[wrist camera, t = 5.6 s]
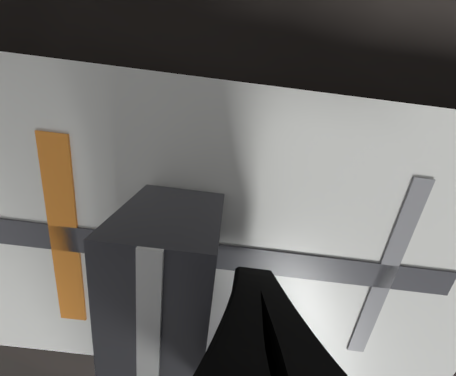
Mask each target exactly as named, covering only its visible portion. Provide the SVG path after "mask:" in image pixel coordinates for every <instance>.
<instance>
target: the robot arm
mask: <svg viewBox="0 0 456 376" xmlns="http://www.w3.org/2000/svg"><path fill="white" fill-rule="evenodd" d="M193 376H348V375H347V374H346V373H345V372H344V371H343V369H342V368H341V367H340V366H339V365H338V364H337V362H336V361H335V360H334V359H333V357H332V356H331V355H330V354H329V353H328V351H327V350H326V349H325V347H324V346H323V345H322V344H321V342H320V341H319V340H318V338H317V337H316V336H315V335H314V333H313V332H312V331H311V329H310V328H309V326H308V325H307V324H306V322H305V321H304V319H303V318H302V317H301V315H300V314H299V312H298V311H297V310H296V308H295V307H294V305H293V304H292V302H291V301H290V299H289V298H288V296H287V295H286V293H285V292H284V290H283V288H282V287H281V285H280V284H279V282H278V281H277V279H276V277H275V276H274V274H273V273H272V271H271V270H264V269H256V268H248V267H237V268H236V269H235V273H234V280H233V286H232V292H231V295H230V298H229V301H228V304H227V306H226V309H225V312H224V314H223V317H222V319H221V321H220V323H219V325H218V328H217V330H216V332H215V334H214V337H213V339H212V341H211V343H210V345H209V347H208V349H207V351H206V353H205V354H204V356H203V358H202V360H201V362H200V364H199V366H198V367H197V369H196V371H195V373H194V374H193Z"/></svg>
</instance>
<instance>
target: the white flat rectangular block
mask: <svg viewBox="0 0 456 376" xmlns="http://www.w3.org/2000/svg"><path fill="white" fill-rule="evenodd" d="M145 185H155V186H163V187H172V188H180V189H188V190H196V191H205V192H213V193H221V194H225V195H224V204H223V213H222V222H221V230H220V239H219V248H218V257H217V265H216V273H215V281H214V289H213V297H212V305H211V313H210V322H209V330H208V338H207V346H206V351H207V349H208V347H209V345H210V343H211V341H212V339H213V337H214V334H215V332H216V330H217V328H218V325H219V323H220V321H221V319H222V317H223V314H224V312H225V309H226V306H227V304H228V301H229V298H230V295H231V292H232V286H233V280H234V273H235V269H236V268H237V267H248V268H256V269H264V270H271V271H272V273H273V274H274V276H275V277H276V279H277V281H278V282H279V284H280V285H281V287H282V288H283V290H284V292H285V293H286V295H287V296H288V298H289V299H290V301H291V302H292V304H293V305H294V307H295V308H296V310H297V311H298V312H299V314H300V315H301V317H302V318H303V319H304V321H305V322H306V324H307V325H308V326H309V328H310V329H311V331H312V332H313V333H314V335H315V336H316V337H317V338H318V340H319V341H320V342H321V344H322V345H323V346H324V347H325V349H326V350H327V351H328V353H329V354H330V355H331V356H332V357H333V359H334V360H335V361H336V362H337V364H338V365H339V366H340V367H341V368H342V369H343V371H344V372H345V373H346V374H347V375H348V376H453V375H454V373H455V372H456V109H449V108H441V107H434V106H426V105H418V104H410V103H402V102H394V101H387V100H379V99H371V98H363V97H355V96H347V95H339V94H332V93H324V92H316V91H308V90H300V89H292V88H285V87H277V86H269V85H261V84H253V83H245V82H238V81H230V80H222V79H214V78H206V77H198V76H191V75H183V74H175V73H167V72H159V71H151V70H143V69H136V68H128V67H120V66H112V65H104V64H96V63H89V62H81V61H73V60H65V59H57V58H49V57H42V56H34V55H26V54H18V53H10V52H2V51H0V345H5V346H14V347H23V348H32V349H41V350H50V351H59V352H68V353H77V354H86V355H94V354H93V343H92V331H91V320H90V309H89V298H88V286H87V275H86V264H85V253H84V242H83V240H84V239H85V238H86V237H87V236H88V235H89V234H90V233H92V232H93V231H94V230H95V229H96V228H97V227H98V226H100V225H101V224H102V223H103V222H104V221H105V220H106V219H108V218H109V217H110V216H111V215H112V214H113V213H115V212H116V211H117V210H118V209H119V208H120V207H121V206H123V205H124V204H125V203H126V202H127V201H128V200H129V199H131V198H132V197H133V196H134V195H135V194H136V193H137V192H139V191H140V190H141V189H142V188H143V187H144V186H145Z"/></svg>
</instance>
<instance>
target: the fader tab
mask: <svg viewBox="0 0 456 376" xmlns="http://www.w3.org/2000/svg"><path fill="white" fill-rule="evenodd" d="M224 195H225V194H221V193H213V192H205V191H196V190H188V189H180V188H172V187H163V186H155V185H145V186H144V187H143V188H142V189H141V190H140V191H139V192H137V193H136V194H135V195H134V196H133V197H132V198H131V199H129V200H128V201H127V202H126V203H125V204H124V205H123V206H121V207H120V208H119V209H118V210H117V211H116V212H115V213H113V214H112V215H111V216H110V217H109V218H108V219H106V220H105V221H104V222H103V223H102V224H101V225H100V226H98V227H97V228H96V229H95V230H94V231H93V232H92V233H90V234H89V235H88V236H87V237H86V238H85V239H84V240H83V242H84V253H85V264H86V275H87V286H88V298H89V309H90V320H91V331H92V343H93V354H94V365H95V376H193V374H194V373H195V371H196V369H197V367H198V366H199V364H200V362H201V360H202V358H203V356H204V354H205V353H206V346H207V338H208V330H209V322H210V313H211V305H212V297H213V289H214V281H215V273H216V265H217V257H218V248H219V239H220V230H221V222H222V213H223V204H224Z"/></svg>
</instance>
